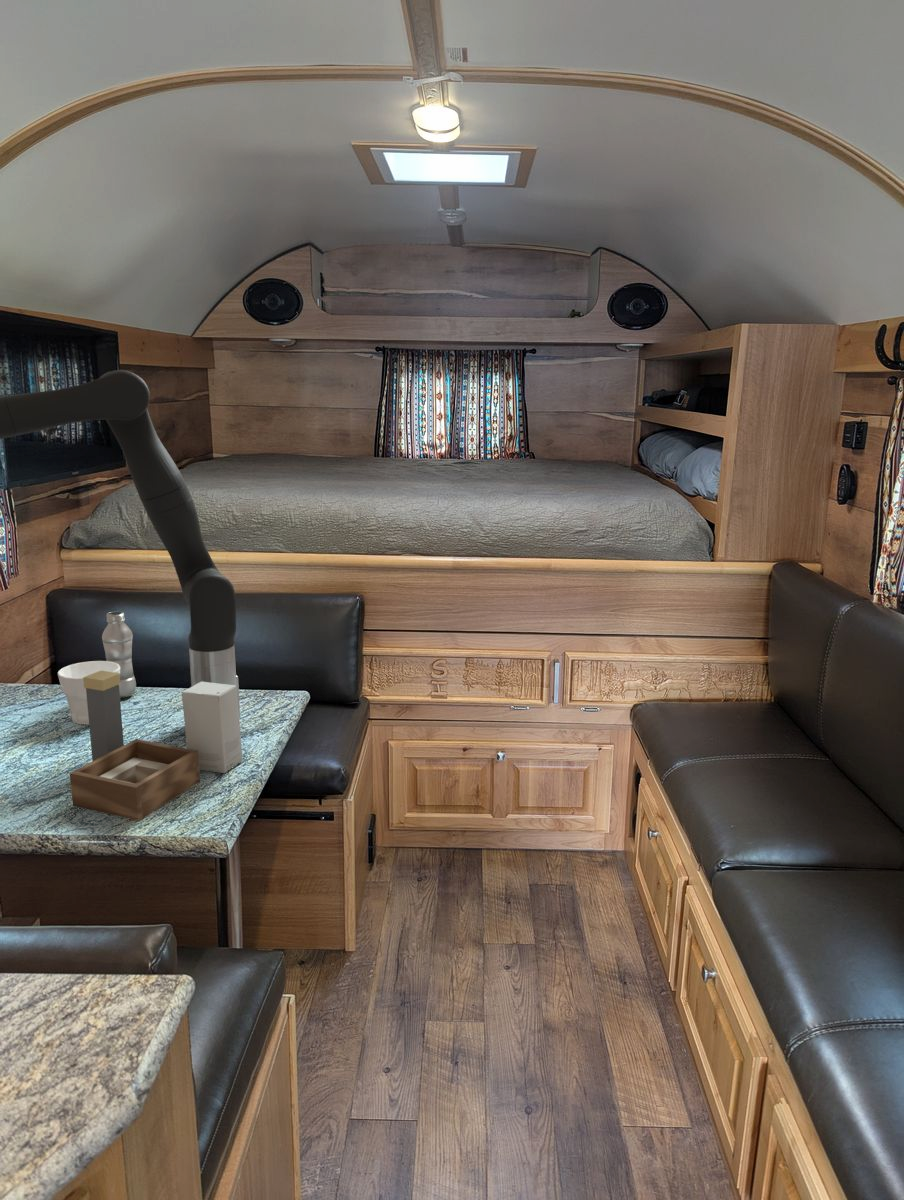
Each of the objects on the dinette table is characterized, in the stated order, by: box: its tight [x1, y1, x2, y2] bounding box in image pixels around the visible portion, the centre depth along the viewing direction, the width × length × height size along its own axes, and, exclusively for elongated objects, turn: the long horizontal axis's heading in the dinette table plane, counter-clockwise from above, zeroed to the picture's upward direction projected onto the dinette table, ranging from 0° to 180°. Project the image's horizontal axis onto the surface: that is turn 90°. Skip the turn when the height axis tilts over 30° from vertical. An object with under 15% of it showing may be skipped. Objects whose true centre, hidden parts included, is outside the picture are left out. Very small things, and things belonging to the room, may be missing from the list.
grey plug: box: [83, 670, 125, 762], centre depth 156 cm, size 4×4×18 cm
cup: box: [57, 660, 121, 726], centre depth 181 cm, size 12×12×11 cm
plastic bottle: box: [101, 611, 137, 699], centre depth 193 cm, size 6×7×20 cm
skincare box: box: [181, 682, 243, 774], centre depth 158 cm, size 8×7×16 cm
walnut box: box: [69, 739, 201, 822], centre depth 147 cm, size 16×14×6 cm
